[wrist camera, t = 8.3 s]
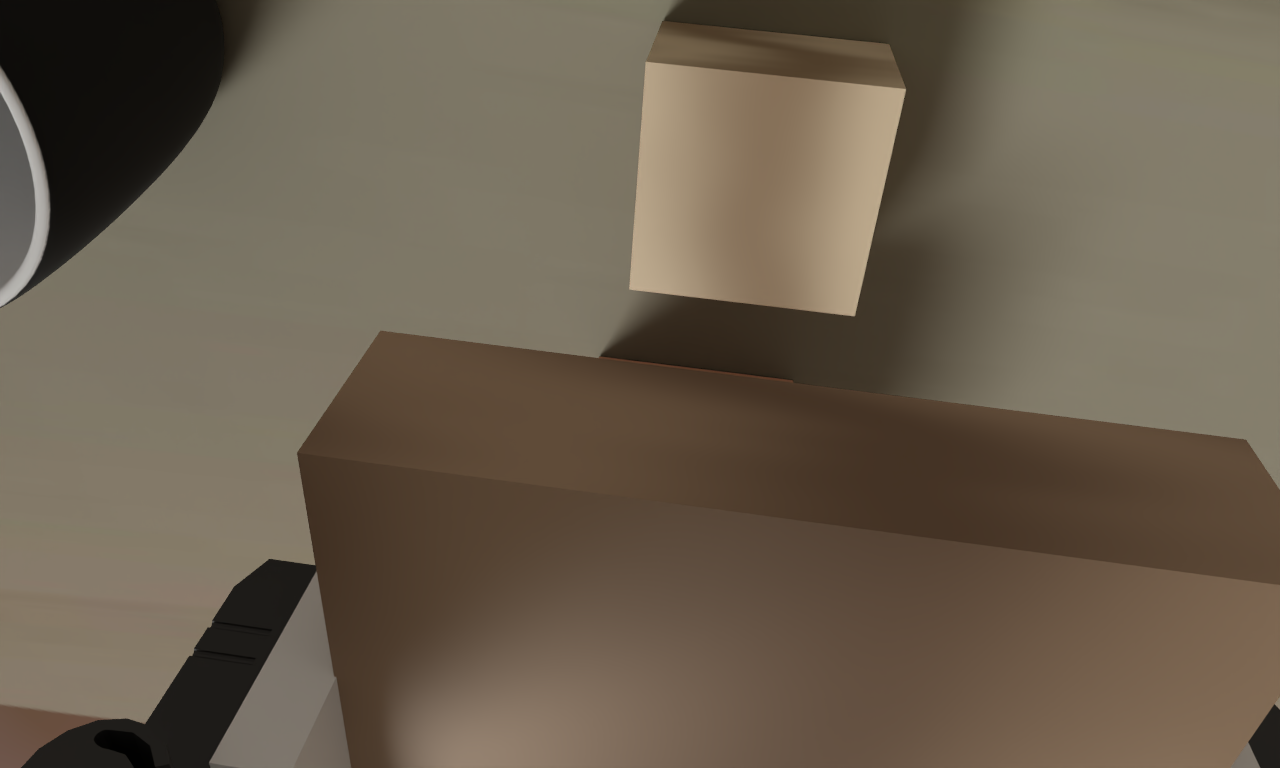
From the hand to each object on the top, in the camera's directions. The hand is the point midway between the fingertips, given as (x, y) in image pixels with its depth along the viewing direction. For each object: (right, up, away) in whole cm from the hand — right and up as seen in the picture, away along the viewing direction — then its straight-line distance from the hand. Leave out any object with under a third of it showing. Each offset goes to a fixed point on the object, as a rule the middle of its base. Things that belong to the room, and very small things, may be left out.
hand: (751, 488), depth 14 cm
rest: (+2, +8, +13) cm, 15 cm away
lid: (0, -2, -3) cm, 3 cm away
